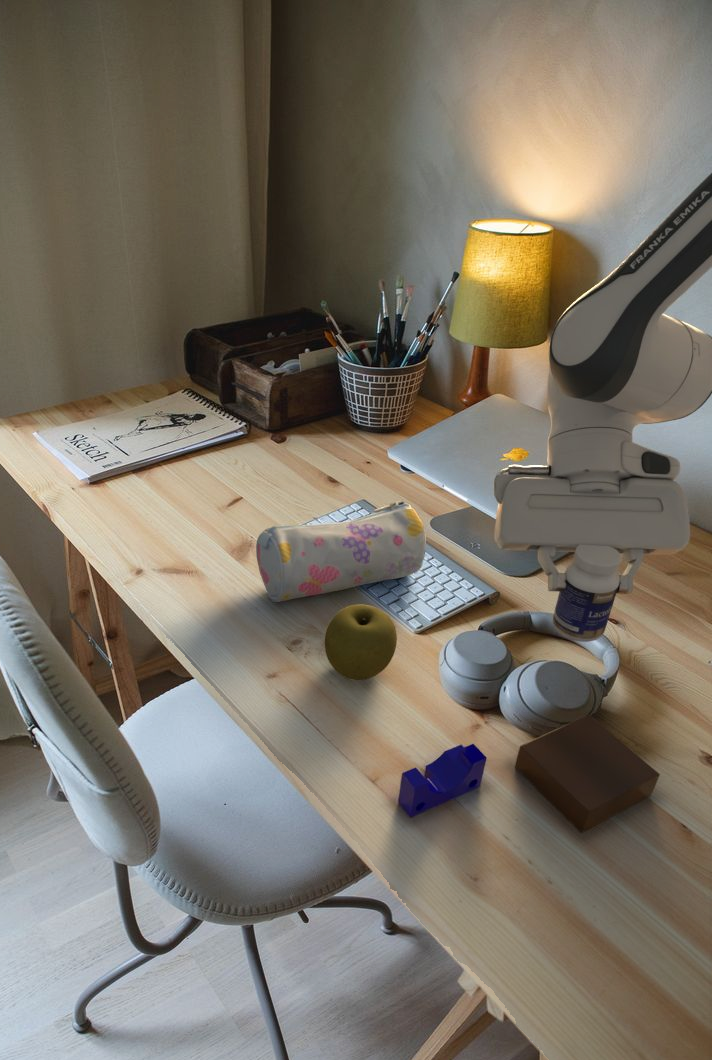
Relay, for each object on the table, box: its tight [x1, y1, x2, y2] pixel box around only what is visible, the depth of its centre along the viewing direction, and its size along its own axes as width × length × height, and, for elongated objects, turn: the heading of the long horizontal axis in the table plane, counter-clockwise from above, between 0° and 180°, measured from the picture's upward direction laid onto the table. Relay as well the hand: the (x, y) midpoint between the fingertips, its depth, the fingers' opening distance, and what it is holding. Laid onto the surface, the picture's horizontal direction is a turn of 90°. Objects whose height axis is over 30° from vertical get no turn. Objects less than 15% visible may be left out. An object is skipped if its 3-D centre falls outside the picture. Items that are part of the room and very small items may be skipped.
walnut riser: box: [514, 714, 661, 833], centre depth 78 cm, size 9×9×3 cm
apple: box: [323, 603, 398, 681], centre depth 89 cm, size 8×8×7 cm
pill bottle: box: [551, 545, 622, 643], centre depth 89 cm, size 6×6×10 cm
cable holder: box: [397, 743, 488, 818], centre depth 76 cm, size 8×4×4 cm, turn 118°
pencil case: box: [255, 500, 427, 603], centre depth 101 cm, size 21×9×10 cm, turn 113°
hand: (590, 591), depth 88 cm, fingers closed on pill bottle, 6 cm apart
